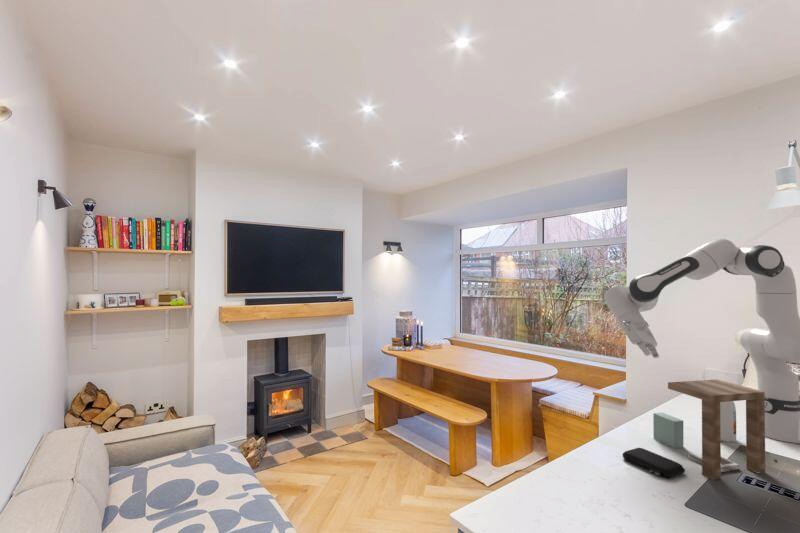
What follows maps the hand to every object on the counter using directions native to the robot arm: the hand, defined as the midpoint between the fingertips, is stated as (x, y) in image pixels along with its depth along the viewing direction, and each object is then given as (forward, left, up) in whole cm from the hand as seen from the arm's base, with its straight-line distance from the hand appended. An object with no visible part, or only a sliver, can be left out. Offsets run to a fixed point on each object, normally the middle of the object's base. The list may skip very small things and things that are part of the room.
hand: (652, 356), depth 141 cm
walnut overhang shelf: (+1, +23, -29) cm, 37 cm away
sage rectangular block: (+1, +7, -29) cm, 30 cm away
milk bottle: (-22, +8, -29) cm, 37 cm away
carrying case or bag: (+21, +19, -29) cm, 41 cm away
